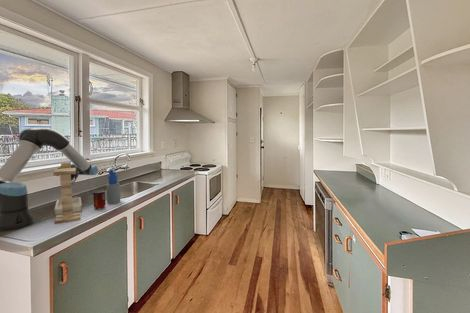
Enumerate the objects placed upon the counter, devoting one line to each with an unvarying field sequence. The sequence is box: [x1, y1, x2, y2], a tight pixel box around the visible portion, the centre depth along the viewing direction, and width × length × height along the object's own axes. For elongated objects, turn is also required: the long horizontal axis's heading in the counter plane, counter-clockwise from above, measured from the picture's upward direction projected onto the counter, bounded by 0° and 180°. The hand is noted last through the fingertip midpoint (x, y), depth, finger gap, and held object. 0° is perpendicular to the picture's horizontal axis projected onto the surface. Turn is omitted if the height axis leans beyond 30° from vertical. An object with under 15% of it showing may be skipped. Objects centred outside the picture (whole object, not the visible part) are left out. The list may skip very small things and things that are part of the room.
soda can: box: [92, 189, 107, 210], centre depth 156 cm, size 7×7×12 cm
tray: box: [53, 196, 83, 217], centre depth 155 cm, size 26×14×4 cm, turn 35°
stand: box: [53, 167, 82, 225], centre depth 135 cm, size 14×12×30 cm
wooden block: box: [60, 161, 72, 168], centre depth 151 cm, size 18×5×6 cm, turn 35°
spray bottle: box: [105, 168, 121, 205], centre depth 168 cm, size 9×9×25 cm
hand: (66, 164), depth 151 cm, fingers closed on wooden block, 3 cm apart
